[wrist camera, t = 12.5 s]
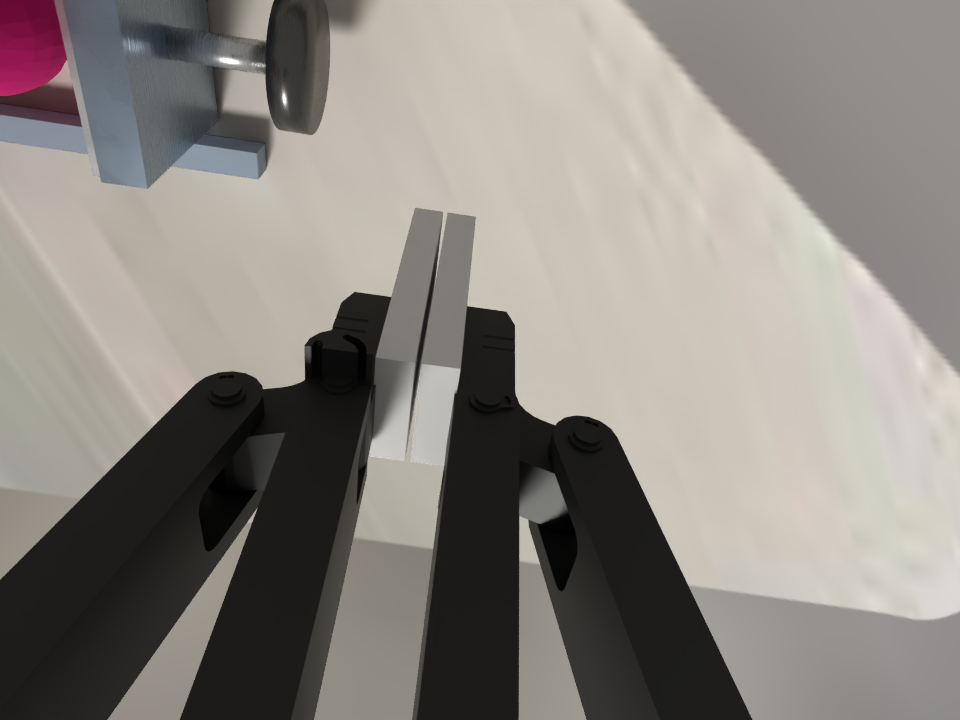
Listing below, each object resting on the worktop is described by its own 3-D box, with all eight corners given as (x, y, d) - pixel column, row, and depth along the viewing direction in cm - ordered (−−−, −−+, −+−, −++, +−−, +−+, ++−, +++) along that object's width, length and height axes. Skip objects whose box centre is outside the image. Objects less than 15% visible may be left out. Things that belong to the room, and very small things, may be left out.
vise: (-96, 115, 38) (-237, 180, 31) (-230, -241, 29) (-477, -266, 21) (266, 168, 39) (211, 243, 32) (248, -157, 30) (164, -155, 23)
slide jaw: (169, 113, 37) (87, 180, 30) (138, -108, 31) (25, -91, 24) (335, 138, 37) (293, 210, 30) (337, -74, 31) (285, -47, 24)
